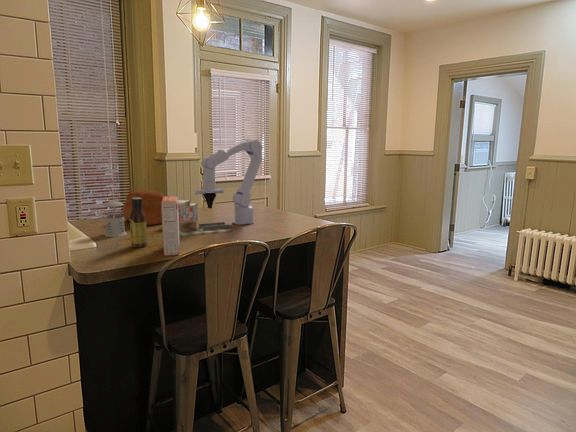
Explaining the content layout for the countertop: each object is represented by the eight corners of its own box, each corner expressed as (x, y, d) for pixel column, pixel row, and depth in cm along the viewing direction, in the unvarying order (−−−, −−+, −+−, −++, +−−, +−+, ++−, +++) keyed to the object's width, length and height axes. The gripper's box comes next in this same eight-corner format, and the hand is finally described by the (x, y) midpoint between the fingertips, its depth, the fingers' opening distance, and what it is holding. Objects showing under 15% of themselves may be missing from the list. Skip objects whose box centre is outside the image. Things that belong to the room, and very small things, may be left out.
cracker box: (164, 247, 167) (162, 196, 163) (180, 246, 168) (178, 195, 165) (162, 256, 154) (160, 201, 150) (179, 255, 155) (177, 200, 151)
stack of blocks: (187, 219, 225) (186, 197, 222) (197, 220, 223) (197, 197, 221) (168, 227, 204) (168, 203, 202) (180, 228, 203) (179, 203, 200)
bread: (143, 227, 203) (142, 193, 200) (120, 221, 216) (118, 189, 213) (173, 222, 216) (172, 190, 213) (149, 217, 229) (148, 187, 226)
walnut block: (193, 228, 197) (193, 220, 197) (196, 230, 193) (196, 222, 193) (179, 230, 194) (179, 221, 193) (181, 232, 190) (181, 223, 189)
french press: (104, 237, 180) (101, 180, 176) (102, 232, 191) (99, 178, 186) (128, 235, 185) (125, 180, 180) (125, 230, 195) (122, 177, 191)
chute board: (221, 226, 209) (221, 224, 209) (231, 231, 197) (231, 230, 197) (174, 230, 198) (174, 228, 197) (181, 236, 186) (181, 234, 185)
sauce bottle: (133, 244, 170) (131, 196, 167) (149, 244, 171) (147, 196, 167) (129, 248, 164) (126, 198, 160) (145, 248, 164) (142, 199, 161)
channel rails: (224, 225, 206) (223, 221, 206) (229, 228, 200) (229, 224, 199) (198, 227, 200) (198, 223, 200) (203, 231, 193) (203, 226, 193)
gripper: (197, 182, 197) (198, 210, 200) (226, 181, 204) (226, 208, 207) (193, 181, 203) (193, 208, 206) (221, 180, 210) (221, 206, 213)
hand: (209, 208), depth 206 cm, fingers closed
